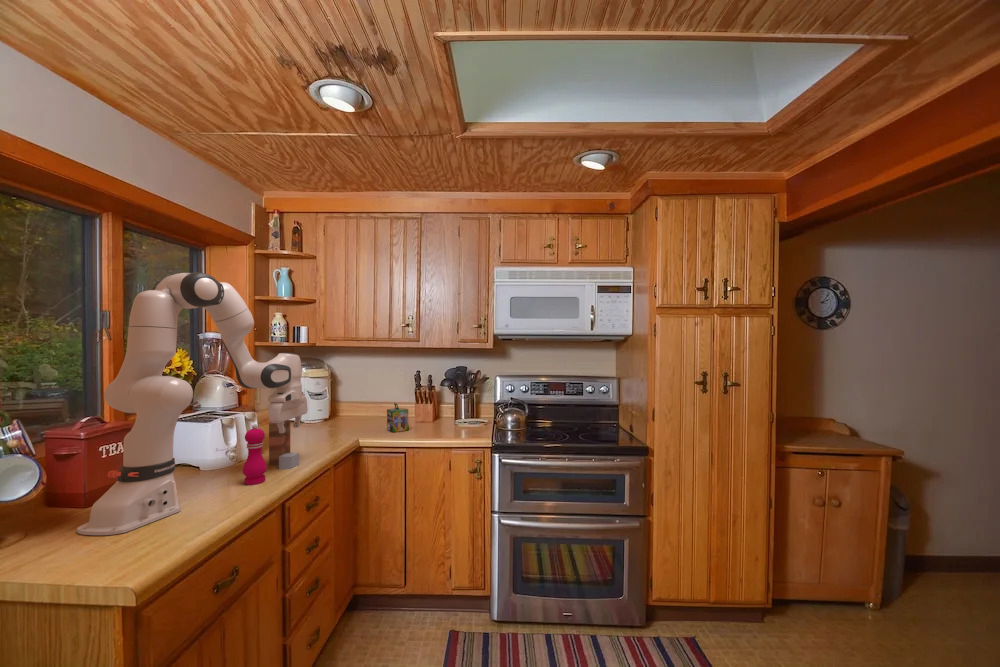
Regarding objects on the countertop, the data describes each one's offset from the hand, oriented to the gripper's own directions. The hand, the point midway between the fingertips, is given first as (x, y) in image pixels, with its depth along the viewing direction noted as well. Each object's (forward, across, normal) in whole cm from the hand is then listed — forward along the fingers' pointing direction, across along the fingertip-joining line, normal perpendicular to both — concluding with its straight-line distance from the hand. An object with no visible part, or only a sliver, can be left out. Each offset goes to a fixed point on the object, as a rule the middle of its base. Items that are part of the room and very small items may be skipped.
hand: (289, 430), depth 163 cm
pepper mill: (+14, +18, -2) cm, 23 cm away
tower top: (+3, -5, -7) cm, 9 cm away
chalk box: (+15, -68, +20) cm, 72 cm away
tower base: (+14, -4, -7) cm, 17 cm away
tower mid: (+9, -5, -7) cm, 12 cm away
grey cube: (+14, 0, 0) cm, 14 cm away
